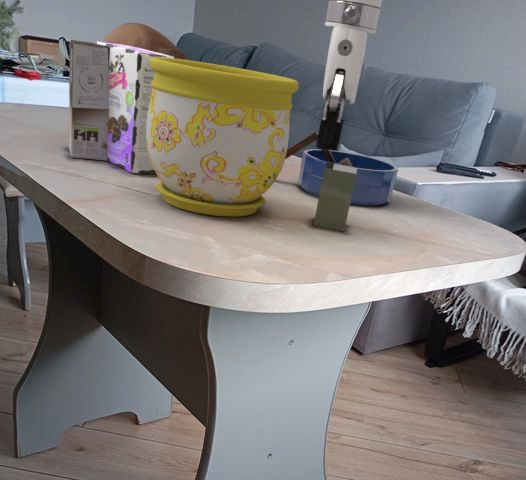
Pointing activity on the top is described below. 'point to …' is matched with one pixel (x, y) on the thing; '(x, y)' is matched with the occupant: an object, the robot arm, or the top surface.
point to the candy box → (129, 106)
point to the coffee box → (88, 100)
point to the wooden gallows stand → (326, 152)
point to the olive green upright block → (335, 196)
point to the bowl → (367, 178)
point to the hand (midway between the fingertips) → (327, 145)
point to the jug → (143, 39)
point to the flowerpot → (217, 134)
